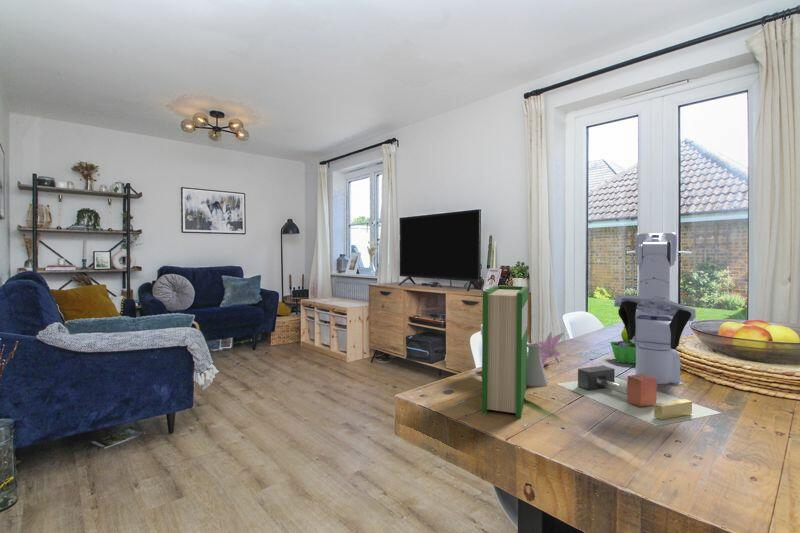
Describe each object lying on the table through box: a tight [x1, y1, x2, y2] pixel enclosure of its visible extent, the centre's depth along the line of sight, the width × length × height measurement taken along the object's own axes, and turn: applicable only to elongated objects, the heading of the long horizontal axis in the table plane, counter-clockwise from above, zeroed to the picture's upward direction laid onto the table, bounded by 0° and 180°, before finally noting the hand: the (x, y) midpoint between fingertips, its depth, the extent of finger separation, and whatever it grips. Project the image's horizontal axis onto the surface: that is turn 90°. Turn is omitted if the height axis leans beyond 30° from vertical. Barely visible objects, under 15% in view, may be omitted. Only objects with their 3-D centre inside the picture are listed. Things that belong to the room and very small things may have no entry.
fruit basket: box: [609, 325, 636, 364], centre depth 119 cm, size 11×9×11 cm
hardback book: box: [481, 285, 529, 419], centre depth 86 cm, size 18×7×24 cm, turn 159°
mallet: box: [597, 374, 658, 407], centre depth 88 cm, size 4×16×5 cm, turn 20°
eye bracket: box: [577, 365, 616, 391], centre depth 92 cm, size 8×3×4 cm, turn 110°
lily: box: [534, 332, 564, 368], centre depth 113 cm, size 12×12×10 cm
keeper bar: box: [654, 398, 693, 420], centre depth 76 cm, size 8×2×2 cm, turn 110°
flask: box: [527, 342, 549, 387], centre depth 96 cm, size 7×7×10 cm
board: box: [556, 376, 722, 427], centre depth 86 cm, size 18×25×1 cm
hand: (652, 342), depth 80 cm, fingers open, 7 cm apart
